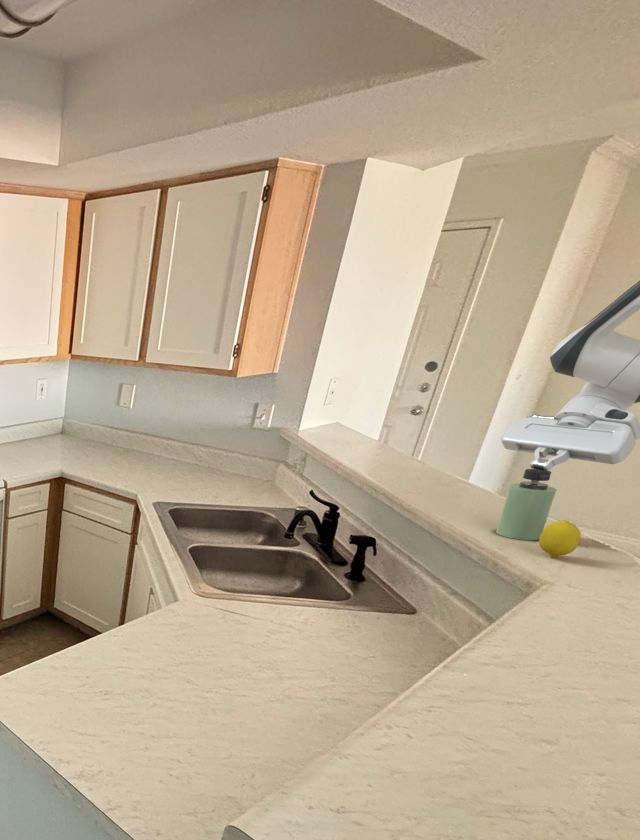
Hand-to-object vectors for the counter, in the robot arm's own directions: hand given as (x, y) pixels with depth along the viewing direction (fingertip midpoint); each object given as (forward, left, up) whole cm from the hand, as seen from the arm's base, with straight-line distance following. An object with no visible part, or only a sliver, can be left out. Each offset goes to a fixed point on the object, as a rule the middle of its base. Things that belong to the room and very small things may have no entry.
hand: (538, 468), depth 127 cm
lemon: (-1, +15, -16) cm, 22 cm away
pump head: (0, +1, -3) cm, 4 cm away
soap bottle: (0, 0, -15) cm, 15 cm away
